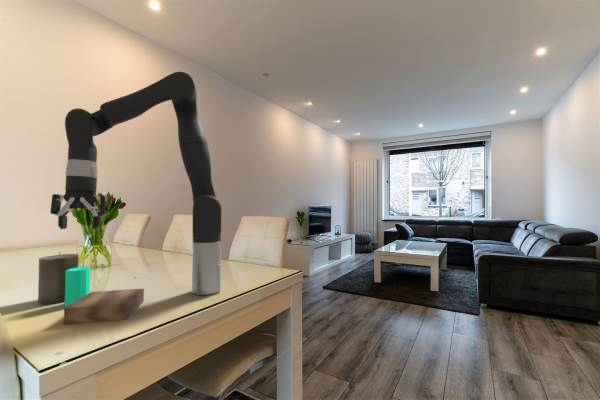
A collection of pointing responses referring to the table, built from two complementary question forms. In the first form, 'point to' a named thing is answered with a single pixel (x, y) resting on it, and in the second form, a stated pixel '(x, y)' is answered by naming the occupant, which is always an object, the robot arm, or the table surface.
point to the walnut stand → (104, 306)
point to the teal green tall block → (76, 284)
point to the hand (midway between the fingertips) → (79, 228)
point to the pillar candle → (54, 277)
